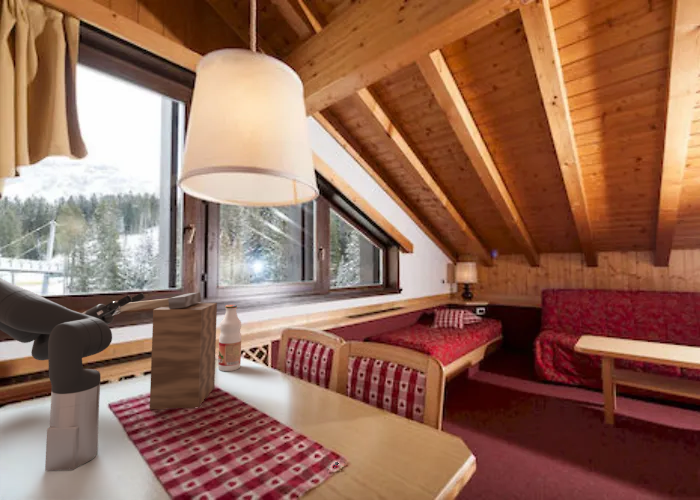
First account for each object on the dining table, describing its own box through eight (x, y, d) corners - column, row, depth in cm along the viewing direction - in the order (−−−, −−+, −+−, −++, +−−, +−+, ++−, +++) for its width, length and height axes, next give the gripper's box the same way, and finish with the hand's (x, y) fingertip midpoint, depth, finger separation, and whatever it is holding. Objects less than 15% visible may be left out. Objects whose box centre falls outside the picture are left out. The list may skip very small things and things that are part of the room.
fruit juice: (235, 372, 146) (237, 307, 147) (214, 371, 147) (216, 306, 148) (243, 365, 155) (245, 304, 156) (224, 364, 156) (225, 303, 157)
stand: (198, 408, 110) (201, 309, 111) (149, 409, 109) (153, 309, 110) (214, 387, 128) (216, 302, 129) (172, 388, 127) (175, 302, 128)
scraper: (185, 307, 112) (184, 296, 112) (104, 316, 109) (103, 305, 109) (201, 301, 128) (200, 292, 128) (131, 309, 125) (130, 299, 125)
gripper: (73, 313, 109) (120, 288, 111) (100, 307, 123) (142, 285, 125) (84, 333, 109) (131, 308, 111) (111, 325, 123) (152, 303, 125)
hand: (137, 296), depth 118 cm, fingers open, 8 cm apart
